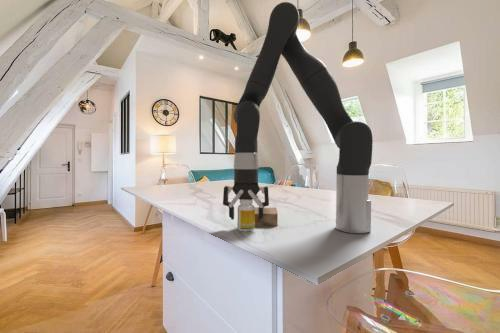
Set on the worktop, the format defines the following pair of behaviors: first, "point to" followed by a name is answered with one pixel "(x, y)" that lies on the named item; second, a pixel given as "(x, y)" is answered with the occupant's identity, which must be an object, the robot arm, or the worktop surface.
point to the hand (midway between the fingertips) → (246, 219)
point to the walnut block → (266, 217)
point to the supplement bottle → (246, 215)
